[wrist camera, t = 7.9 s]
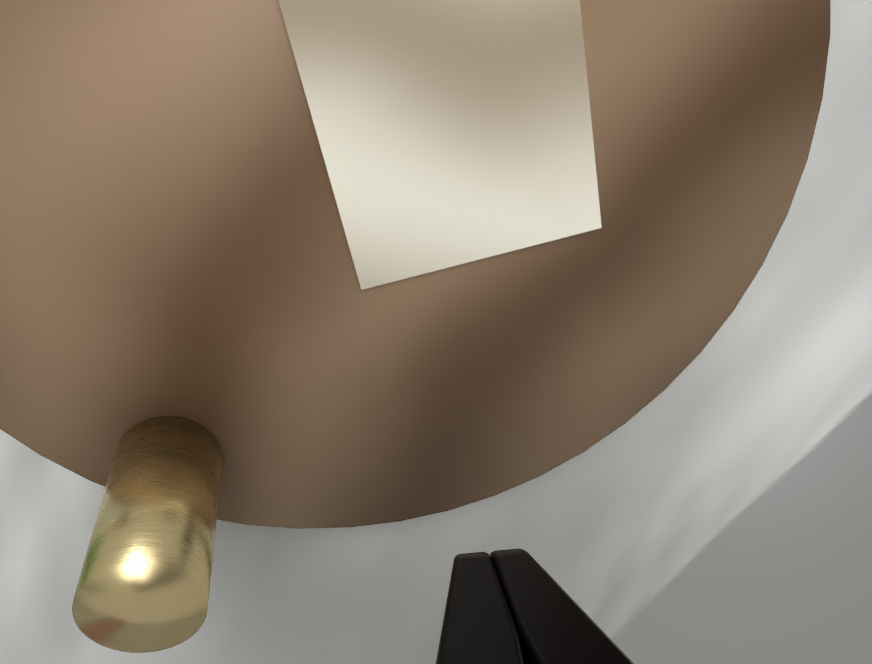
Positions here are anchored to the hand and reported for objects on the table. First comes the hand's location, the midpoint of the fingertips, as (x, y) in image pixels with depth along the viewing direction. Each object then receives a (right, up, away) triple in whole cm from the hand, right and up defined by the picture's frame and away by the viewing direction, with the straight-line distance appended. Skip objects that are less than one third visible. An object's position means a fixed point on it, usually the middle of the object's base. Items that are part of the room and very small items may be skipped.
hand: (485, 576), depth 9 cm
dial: (-3, +7, +8) cm, 11 cm away
